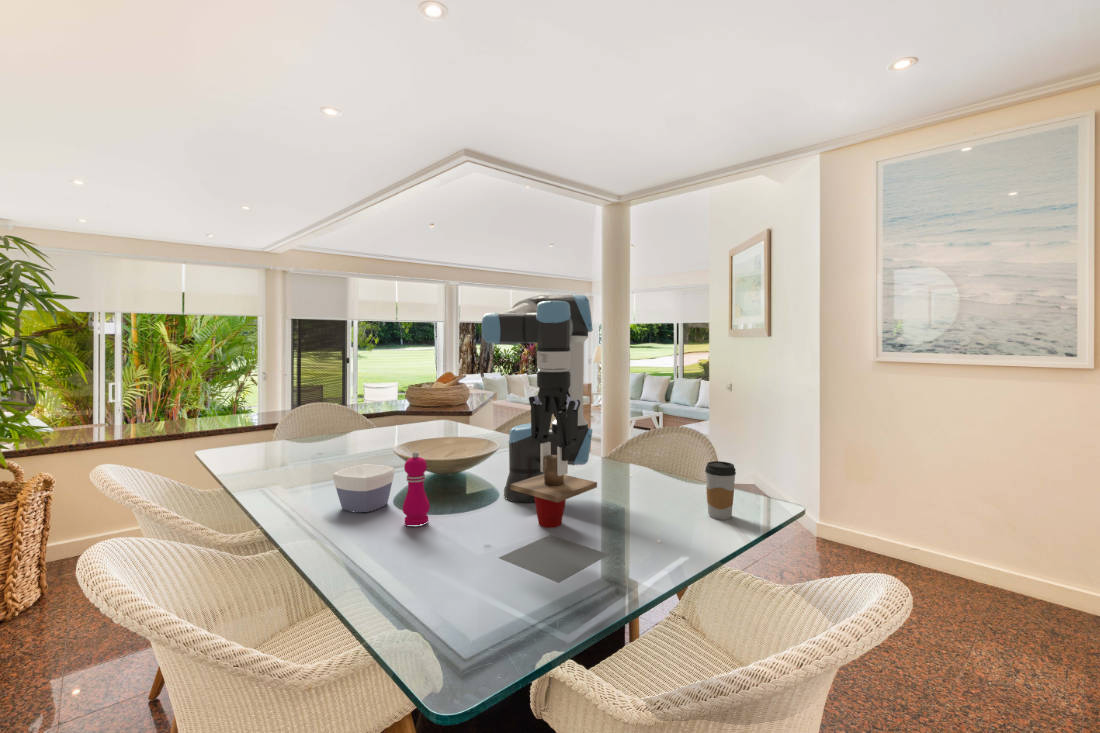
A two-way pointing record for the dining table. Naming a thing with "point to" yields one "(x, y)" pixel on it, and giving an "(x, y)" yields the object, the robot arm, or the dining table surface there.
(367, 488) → the bowl
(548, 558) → the mat
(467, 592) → the dining table surface
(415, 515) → the pepper mill
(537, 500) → the plastic cup
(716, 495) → the coffee cup
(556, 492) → the lid
